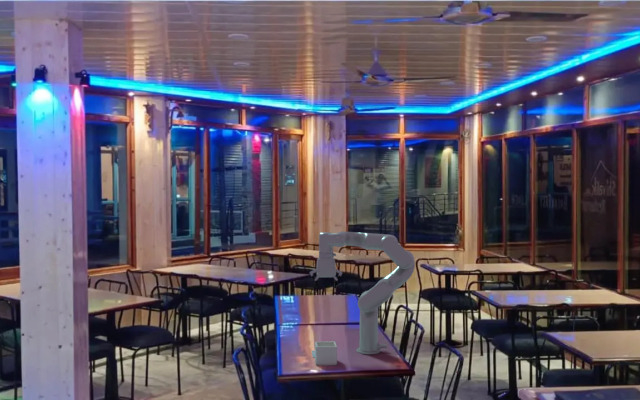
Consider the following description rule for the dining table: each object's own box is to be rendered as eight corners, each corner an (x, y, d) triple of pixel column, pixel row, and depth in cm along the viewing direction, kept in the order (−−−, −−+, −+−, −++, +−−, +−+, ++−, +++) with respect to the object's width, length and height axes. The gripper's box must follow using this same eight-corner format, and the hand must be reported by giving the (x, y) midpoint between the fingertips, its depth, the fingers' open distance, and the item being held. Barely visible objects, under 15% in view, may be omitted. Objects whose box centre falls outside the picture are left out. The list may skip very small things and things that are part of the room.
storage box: (334, 359, 303) (335, 341, 303) (336, 365, 293) (337, 346, 293) (314, 359, 303) (314, 341, 302) (316, 365, 293) (316, 346, 292)
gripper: (341, 254, 326) (341, 286, 327) (309, 255, 325) (309, 287, 325) (343, 256, 319) (343, 289, 319) (310, 256, 317) (310, 289, 318)
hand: (325, 288), depth 322 cm, fingers open, 9 cm apart
